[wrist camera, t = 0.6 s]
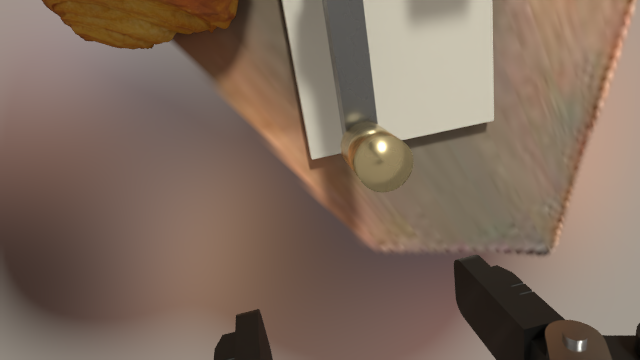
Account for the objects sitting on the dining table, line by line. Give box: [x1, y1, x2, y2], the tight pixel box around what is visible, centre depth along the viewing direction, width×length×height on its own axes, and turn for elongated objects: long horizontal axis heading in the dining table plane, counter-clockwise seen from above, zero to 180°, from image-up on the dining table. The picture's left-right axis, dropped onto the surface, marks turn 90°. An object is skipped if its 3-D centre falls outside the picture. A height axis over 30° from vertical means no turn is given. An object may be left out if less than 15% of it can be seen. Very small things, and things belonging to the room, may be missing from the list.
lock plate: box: [281, 0, 494, 159], centre depth 31 cm, size 20×19×7 cm
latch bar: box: [322, 0, 413, 192], centre depth 26 cm, size 17×4×7 cm, turn 10°
